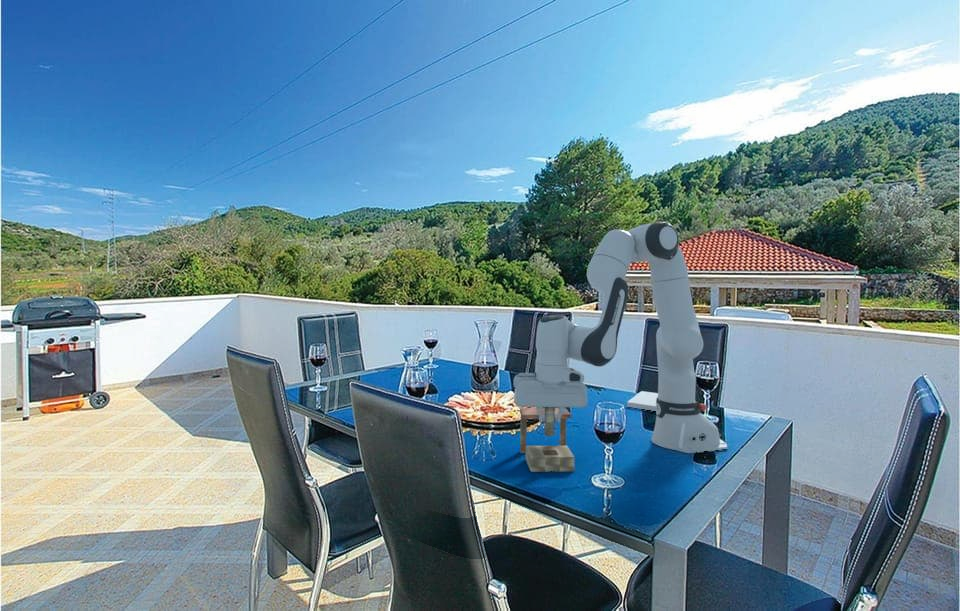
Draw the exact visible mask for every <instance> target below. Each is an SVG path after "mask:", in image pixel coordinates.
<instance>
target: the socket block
mask: <svg viewBox="0 0 960 611" xmlns="http://www.w3.org/2000/svg"><path fill="white" fill-rule="evenodd" d="M525 461H526V463H527V466H528V469H529V471H531V472H534V473H535V472H537V473H538V472H540V473H541V472H547V473H548V472H550V471H552V472H553V471H554V472H575V456H574V454H573V453H572V451H571V449H570V448H569V446H568V445H566V446H559V445H526V453H525ZM550 473H551V472H550Z"/></svg>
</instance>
